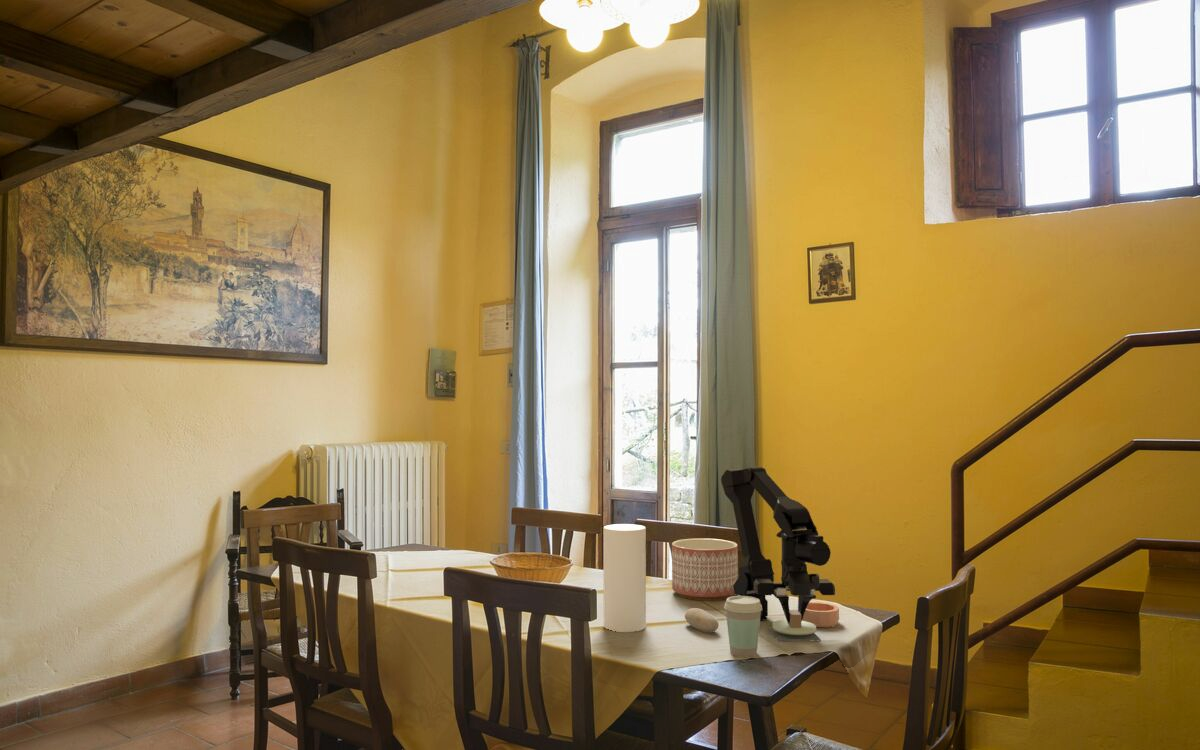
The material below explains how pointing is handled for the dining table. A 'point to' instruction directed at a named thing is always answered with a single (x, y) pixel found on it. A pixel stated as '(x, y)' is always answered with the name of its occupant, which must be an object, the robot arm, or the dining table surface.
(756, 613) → the coffee cup
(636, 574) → the tall pillar cylinder
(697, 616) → the stone
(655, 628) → the dining table surface
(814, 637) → the mat
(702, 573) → the planter
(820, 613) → the bowl
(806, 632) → the lid
